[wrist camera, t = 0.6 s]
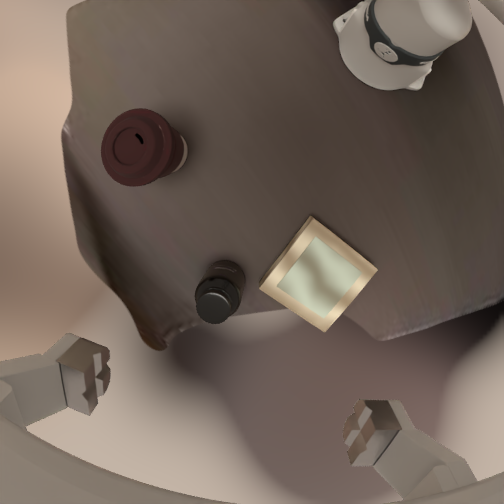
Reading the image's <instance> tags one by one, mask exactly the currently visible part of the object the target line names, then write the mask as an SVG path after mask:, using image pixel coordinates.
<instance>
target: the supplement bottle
mask: <svg viewBox="0 0 504 504" xmlns="http://www.w3.org/2000/svg"><path fill="white" fill-rule="evenodd" d="M244 285H245V276H244V273H243V271H242V270H241V268H240V267H239V266H238V265H236V264H235V263H233V262H230V261H219V262H216V263H214V264H213V265H211V266H210V267H209V269H208V270H207V271H206V273H205V275H204V276H203V278H202V279H201V281H200V283H199V284H198V286H197V288H196V291H195V301H196V304H197V305H196V310H197V313H198V315H199V316H200V318H202V319H203V320H204V321H206V322H208V323H211V324H219V323H222V322H223V321H225V320H226V319H227V318H228V317H230V316H231V315H233V314H234V313H235V312H236V311H237V310H238V308H239V306H240V303H241V299H242V294H243V290H244Z"/></svg>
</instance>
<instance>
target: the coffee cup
mask: <svg viewBox="0 0 504 504" xmlns="http://www.w3.org/2000/svg"><path fill="white" fill-rule="evenodd" d="M101 157H102V162H103V165H104V167H105V169H106V171H107V173H108V174H109V175H110V176H111V177H112V178H113V179H114V180H115V181H117V182H118V183H120V184H122V185H126V186H142V185H146V184H149V183H151V182H153V181H155V180H156V179H158V178H161V177H164V176H167V175H169V174H171V173H173V172H175V171H177V170H178V169H180V168H181V166H182V165H183V164H184V162H185V160H186V157H187V144H186V142H185V140H184V138H183V137H182V136H181V135H180V134H179V133H178V132H177V131H176V130H175V129H174V128H173V127H171V126H170V125H169V123H168V122H167V121H166V120H165V119H164V118H163V117H162V116H161V115H159V114H158V113H156V112H154V111H151V110H148V109H132V110H129V111H126V112H124V113H122V114H121V115H119V116H118V117H117V118H116V119H115V120H114V121H113V122H112V123H111V124H110V125H109V127H108V128H107V130H106V132H105V134H104V137H103V141H102V146H101Z"/></svg>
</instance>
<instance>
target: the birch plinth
mask: <svg viewBox="0 0 504 504" xmlns="http://www.w3.org/2000/svg"><path fill="white" fill-rule="evenodd" d="M377 270H378V269H377V268H376V267H374V266H373V265H372V264H371V263H370V262H369V261H367V260H366V259H365V258H364V257H363V256H361V255H360V254H359V253H358V252H356V251H355V250H354V249H353V248H351V247H350V246H349V245H348V244H346V243H345V242H344V241H343V240H341V239H340V238H339V237H338V236H336V235H335V234H334V233H333V232H331V231H330V230H329V229H327V228H326V227H325V226H324V225H322V224H321V223H320V222H318V221H317V220H316V219H314V218H313V217H312V216H311V215H310V217H309V218H308V219H307V221H306V222H305V223H304V225H303V226H302V227H301V229H300V230H299V231H298V232H297V234H296V235H295V236H294V238H293V239H292V240H291V242H290V243H289V244H288V246H287V247H286V248H285V250H284V251H283V252H282V253H281V255H280V256H279V257H278V259H277V260H276V261H275V262H274V264H273V265H272V266H271V268H270V269H269V270H268V272H267V273H266V274H265V275H264V277H263V278H262V279H261V281H260V282H259V289H260V290H262V291H263V292H265V293H266V294H268V295H269V296H271V297H272V298H274V299H275V300H277V301H278V302H280V303H281V304H283V305H284V306H286V307H287V308H289V309H290V310H292V311H293V312H295V313H296V314H298V315H299V316H301V317H302V318H304V319H305V320H307V321H308V322H310V323H311V324H313V325H314V326H316V327H317V328H319V329H320V330H322V331H323V332H325V331H326V330H327V329H328V328H329V327H330V326H331V325H332V323H334V321H335V320H336V319H337V318H338V317H339V316H340V315H341V313H342V312H343V311H344V310H345V309H346V308H347V307H348V305H349V304H350V303H351V302H352V301H353V299H354V298H355V297H356V296H357V295H358V293H359V292H360V291H361V290H362V289H363V287H364V286H365V285H366V284H367V283H368V281H369V280H370V279H371V278H372V276H373V275H374V274H375V273H376V271H377Z"/></svg>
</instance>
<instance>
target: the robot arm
mask: <svg viewBox="0 0 504 504" xmlns="http://www.w3.org/2000/svg"><path fill="white" fill-rule="evenodd" d="M479 1H480V2H481V3H482V4H483V5H484V6H485V7H486V8H487V9H488V10H489V11H490V12H491V13H492V14H494V16H495V17H497V18H498V20H499V21H501V22H502V24H503V25H504V0H479ZM343 21H346V22H345V23H344V22H343ZM471 25H472V13H471V8H470V5H469V1H468V0H365V1H364V2H362V1H361V2H360V3H359V4H358V5H357V6H356V7H354V8H353V9H351V10H349V11H348V12H346V13H345V14H343V15H342V16H340V17H338V18H337V19H336V20H335V21H334V22H333V27H334V29H335V31H336V33H337V35H338V37H339V49H340V53H341V56H342V59H343V61H344V63H345V64H346V66H347V67H348V69H349V70H350V71H351V72H352V73H353V74H354V75H355V76H356V77H357V78H358V79H360V80H361V81H362V82H364V83H366V84H367V85H369V86H372V87H374V88H377V89H381V90H396V89H401V88H406V89H410V90H415V91H416V90H419V89H420V88H421V87H422V85H423V82H424V79H425V76H426V75H427V74H429V73H430V72H431V70H432V69H431V66H432V63H433V61H434V60H436V59H437V58H438V57H439V56H440V55H441V54H442V53H443V52H444V50H445V49H446V48H448V47H449V46H451V45H453V44H455V43H456V42H458V41H460V40H461V39H463V38H464V37H466V35H467V34H468V33H469V31H470V29H471ZM109 359H110V350H109V349H108V348H107V347H104V346H102V345H99V344H96V343H94V342H92V341H89V340H87V339H84V338H81V337H79V336H76V335H74V334H71V333H67V334H65V336H63V337H62V338H61V339H60V340H59V341H58V342H57V343H55V344H54V345H53V346H52V347H51V348H50V349H49V350H48V351H47V352H45V353H44V354H43V355H41V354H35V355H30V356H26V357H20V358H15V359H11V360H5V361H0V504H235V503H228V502H222V501H216V500H210V499H205V498H200V497H195V496H191V495H186V494H182V493H178V492H174V491H170V490H166V489H162V488H159V487H155V486H152V485H149V484H145V483H142V482H139V481H136V480H133V479H130V478H127V477H124V476H122V475H119V474H116V473H113V472H111V471H108V470H106V469H103V468H101V467H98V466H96V465H93V464H91V463H89V462H86V461H84V460H82V459H80V458H78V457H75V456H73V455H71V454H69V453H67V452H65V451H63V450H61V449H59V448H57V447H55V446H53V445H51V444H49V443H48V442H46V441H44V440H42V439H40V438H38V437H37V436H35V435H33V434H31V433H30V432H28V431H27V429H26V426H28V425H30V424H32V423H34V422H37V421H39V420H41V419H44V418H46V417H48V416H50V415H52V414H55V413H57V412H59V411H61V410H63V409H66V408H67V407H69V408H72V409H74V410H76V411H79V412H81V413H84V414H87V415H89V416H90V415H91V413H92V412H93V410H94V408H95V407H96V406H97V404H98V399H97V397H99V396H102V395H104V393H105V392H106V390H107V388H108V385H109V382H110V374H111V373H110V368H109V367H108V365H107V362H108V361H109ZM353 409H354V412H355V413H353V414H352V415H350V416H349V417H348V418H347V420H346V422H345V424H344V428H343V438H344V442H345V443H346V444H347V445H348V446H349V447H350V448H349V449H348V451H347V454H348V458H349V461H350V465H351V466H373V468H374V469H375V470H376V471H377V472H378V473H379V474H380V475H381V476H382V477H383V478H384V479H385V480H386V481H387V482H388V483H389V484H390V485H391V486H392V487H393V488H394V489H395V491H397V493H398V494H399V495H400V496H401V497H402V498H403V500H402V501H398V502H392V503H386V504H504V472H502V473H499V474H497V475H494V476H492V477H489V478H486V479H483V480H481V481H477V480H476V478H475V476H474V474H473V473H472V471H471V469H470V467H469V465H468V464H467V462H466V461H465V459H463V458H462V457H460V456H459V455H457V454H456V453H454V452H452V451H451V450H449V449H448V448H446V447H445V446H443V445H442V444H440V443H439V442H437V441H436V440H434V439H433V438H431V437H429V436H428V435H426V434H425V433H424V432H422V431H421V430H419V429H418V430H416V429H415V427H414V426H413V424H412V422H411V420H410V418H409V416H408V414H407V413H406V411H405V409H404V407H403V405H402V404H401V402H400V401H398V400H366V399H359V400H358V401H357V402H356V404H355V405H354V407H353Z"/></svg>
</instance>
